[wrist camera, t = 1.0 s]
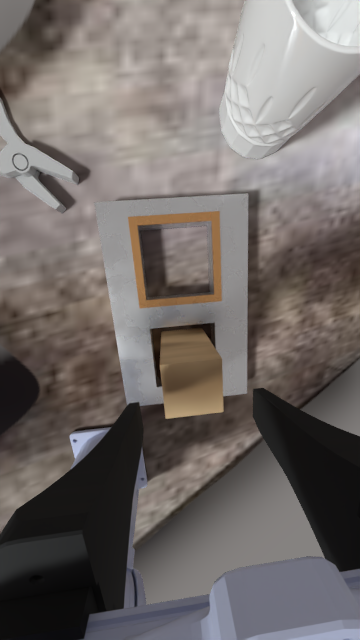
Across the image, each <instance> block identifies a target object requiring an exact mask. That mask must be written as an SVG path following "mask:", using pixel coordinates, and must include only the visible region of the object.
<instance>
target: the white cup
mask: <svg viewBox="0 0 360 640" xmlns="http://www.w3.org/2000/svg"><path fill="white" fill-rule="evenodd" d="M359 75H360V0H245V2H244V5H243V9H242V12H241V16H240V21H239V25H238V30H237V35H236V38H235V42H234V45H233V50H232V54H231V59H230V62H229V66H228V75H227V80H226V84H225V88H224V92H223V96H222V100H221V104H220V108H219V116H220V124H221V132H222V134H223V135H224V137H225V139H226V141H227V143H228V144H229V146H230V148H231V149H233V150H234V151H235V152H237V153H238V154H240V155H241V156H243V157H244V158H254V159H261V158H264V157H266V156H268V155H270V154H272V153H274V152H276V151H277V150H278V149H279V148H280V147H281V146H282V145H283V144H284V143H285V142H286V141H287V140H288V139H289V138H290V137H292V136H293V135H294V134H296V133H297V132H298V131H299V130H301V129H302V128H303V127H304V126H305V125H306V124H307V123H308V122H310V121H311V120H312V119H313V118H314V117H315V116H316V115H317V114H318V113H319V112H321V111H322V110H323V109H324V108H325V107H326V106H327V105H328V104H329V103H330V102H331V101H333V100H334V99H335V98H336V97H337V96H338V95H339V94H340V93H341V92H342V91H343V90H344V89H345V88H346V87H347V86H348V85H349V84H350V83H351V82H353V81H354V80H355V79H356V78H357V77H358V76H359Z"/></svg>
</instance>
